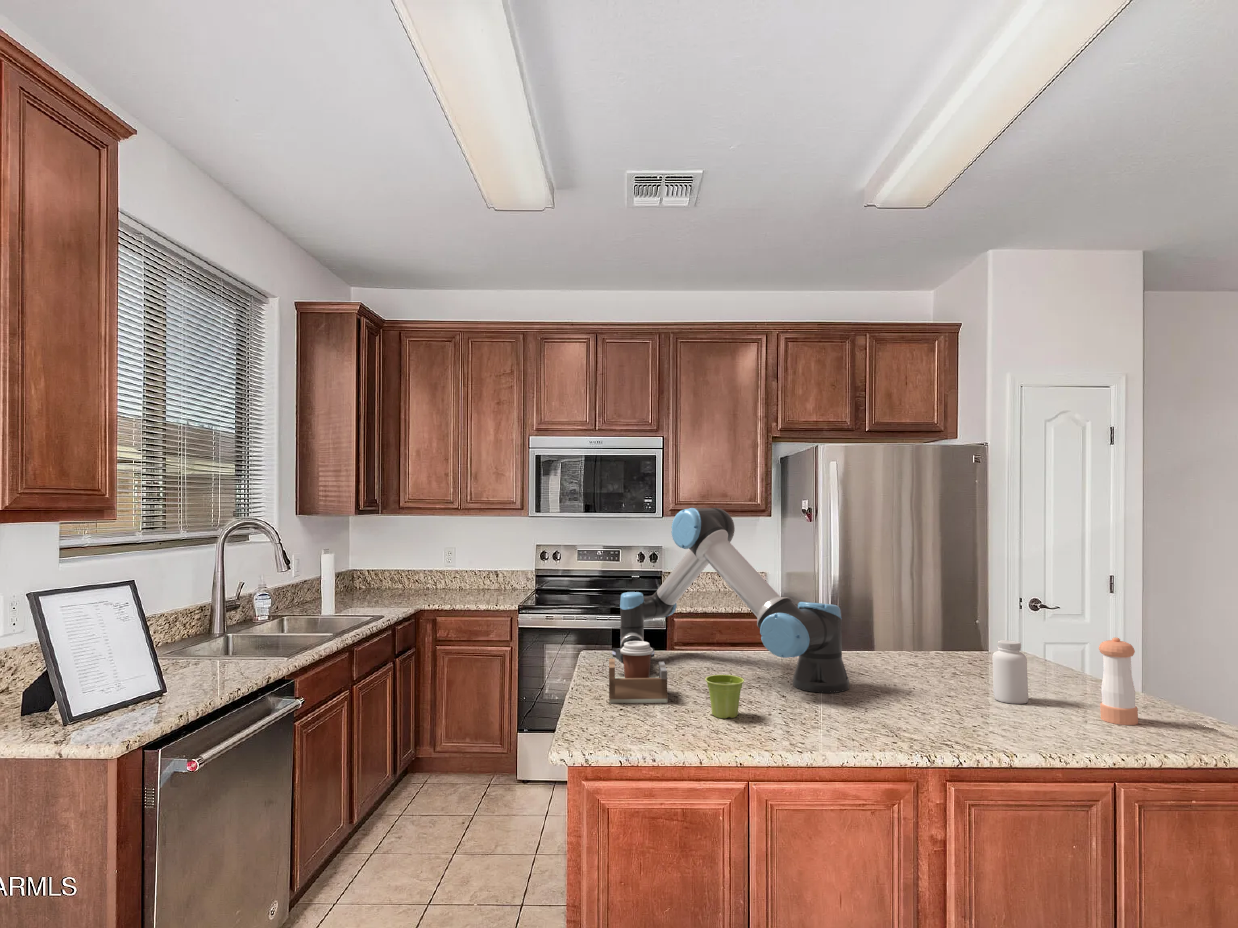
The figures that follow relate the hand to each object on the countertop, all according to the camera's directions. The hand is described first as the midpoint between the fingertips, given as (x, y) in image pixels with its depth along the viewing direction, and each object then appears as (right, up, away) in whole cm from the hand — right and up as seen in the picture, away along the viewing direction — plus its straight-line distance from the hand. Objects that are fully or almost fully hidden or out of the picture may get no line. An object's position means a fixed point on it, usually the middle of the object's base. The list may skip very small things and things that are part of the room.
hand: (634, 663), depth 210 cm
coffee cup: (+1, -5, -5) cm, 7 cm away
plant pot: (+21, -5, -28) cm, 36 cm away
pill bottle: (+96, -5, -17) cm, 98 cm away
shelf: (0, -6, -4) cm, 8 cm away
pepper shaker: (+112, -4, -35) cm, 118 cm away
